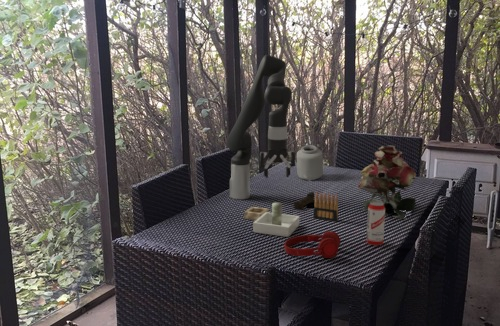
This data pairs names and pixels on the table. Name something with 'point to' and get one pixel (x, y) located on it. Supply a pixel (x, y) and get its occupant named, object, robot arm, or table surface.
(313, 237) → the headphones
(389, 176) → the rose bouquet
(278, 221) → the dowel
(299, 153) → the jar
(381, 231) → the beer can
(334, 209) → the ammunition clip
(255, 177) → the table surface
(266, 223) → the tray
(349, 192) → the table surface
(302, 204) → the hand tool
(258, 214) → the holder
